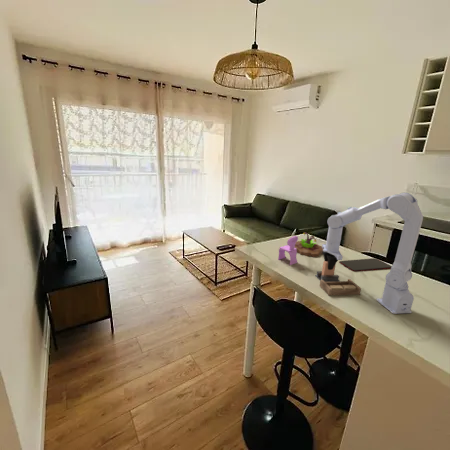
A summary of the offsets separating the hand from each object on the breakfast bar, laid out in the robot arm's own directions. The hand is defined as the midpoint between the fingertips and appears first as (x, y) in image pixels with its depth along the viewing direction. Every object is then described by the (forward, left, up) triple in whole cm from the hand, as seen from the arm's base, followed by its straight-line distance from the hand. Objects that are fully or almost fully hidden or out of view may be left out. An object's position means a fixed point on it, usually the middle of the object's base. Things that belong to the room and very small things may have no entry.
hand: (328, 268), depth 117 cm
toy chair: (+20, +12, -6) cm, 24 cm away
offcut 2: (-12, -3, -6) cm, 14 cm away
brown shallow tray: (-11, 0, -5) cm, 12 cm away
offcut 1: (-12, +3, -6) cm, 14 cm away
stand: (0, 0, -5) cm, 5 cm away
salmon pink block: (0, 0, -5) cm, 5 cm away
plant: (+36, -6, -6) cm, 37 cm away
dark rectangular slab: (+14, -29, -6) cm, 33 cm away
